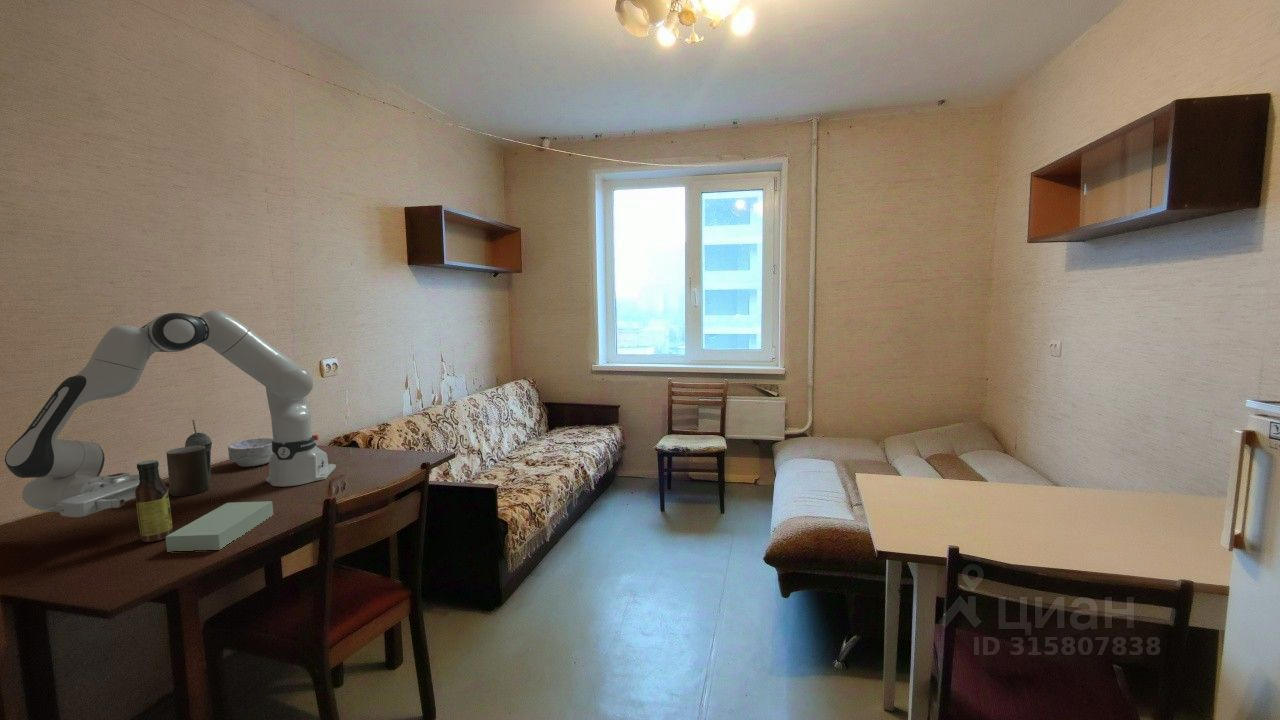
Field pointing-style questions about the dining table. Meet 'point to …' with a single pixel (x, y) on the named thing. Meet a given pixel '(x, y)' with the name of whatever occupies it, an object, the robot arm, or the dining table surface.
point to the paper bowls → (251, 452)
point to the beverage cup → (201, 444)
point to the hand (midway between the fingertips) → (140, 496)
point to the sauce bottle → (152, 503)
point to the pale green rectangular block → (219, 526)
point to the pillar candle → (187, 470)
